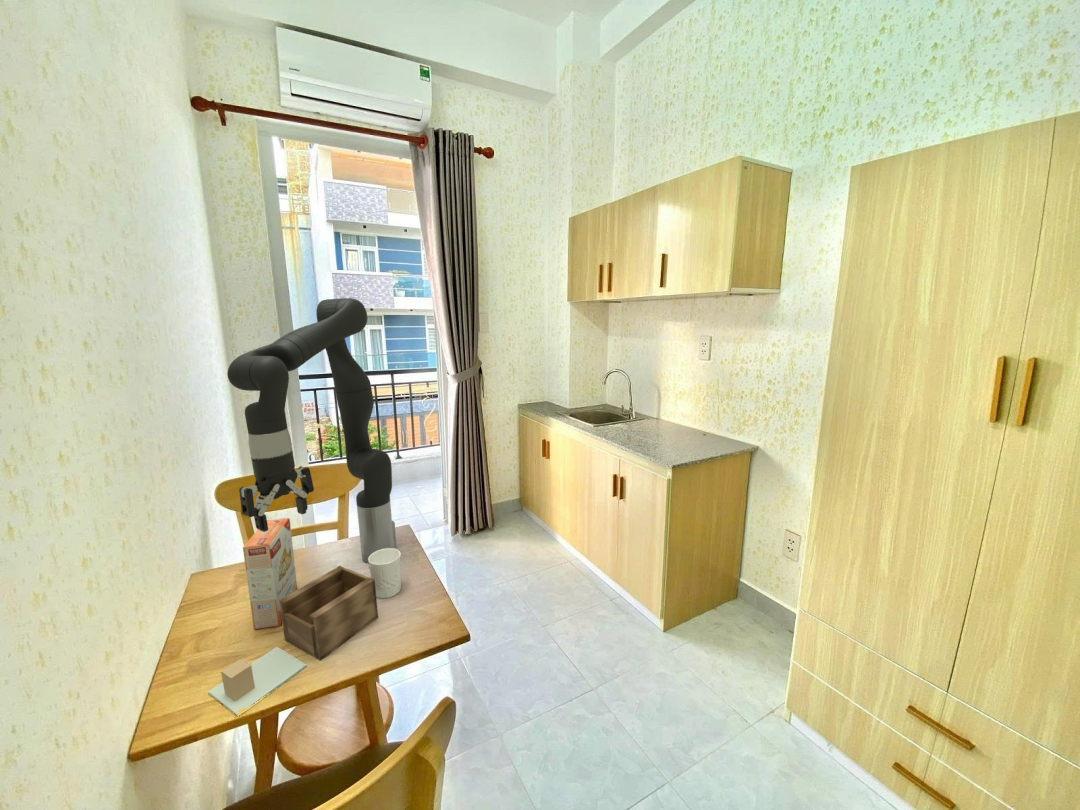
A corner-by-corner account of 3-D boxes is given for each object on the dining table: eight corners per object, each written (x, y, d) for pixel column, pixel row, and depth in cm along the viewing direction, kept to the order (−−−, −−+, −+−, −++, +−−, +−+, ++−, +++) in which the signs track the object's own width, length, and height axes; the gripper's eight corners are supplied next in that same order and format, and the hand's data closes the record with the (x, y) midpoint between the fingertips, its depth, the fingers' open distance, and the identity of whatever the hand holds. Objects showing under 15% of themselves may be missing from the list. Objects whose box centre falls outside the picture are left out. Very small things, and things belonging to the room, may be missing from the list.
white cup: (404, 596, 111) (401, 560, 109) (371, 603, 108) (367, 566, 106) (402, 579, 118) (399, 545, 116) (371, 585, 115) (368, 551, 113)
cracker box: (282, 626, 100) (270, 543, 96) (253, 631, 99) (239, 547, 94) (300, 590, 113) (290, 516, 109) (274, 594, 112) (263, 519, 108)
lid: (277, 650, 93) (273, 626, 92) (307, 668, 88) (303, 643, 87) (208, 696, 82) (203, 668, 81) (238, 719, 77) (233, 690, 76)
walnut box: (343, 601, 109) (339, 565, 107) (378, 617, 103) (374, 579, 101) (284, 640, 96) (279, 599, 94) (320, 660, 90) (315, 618, 88)
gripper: (293, 439, 98) (303, 505, 102) (224, 459, 86) (239, 532, 90) (314, 443, 95) (324, 511, 98) (246, 464, 83) (260, 541, 86)
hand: (283, 521), depth 94 cm, fingers open, 8 cm apart
